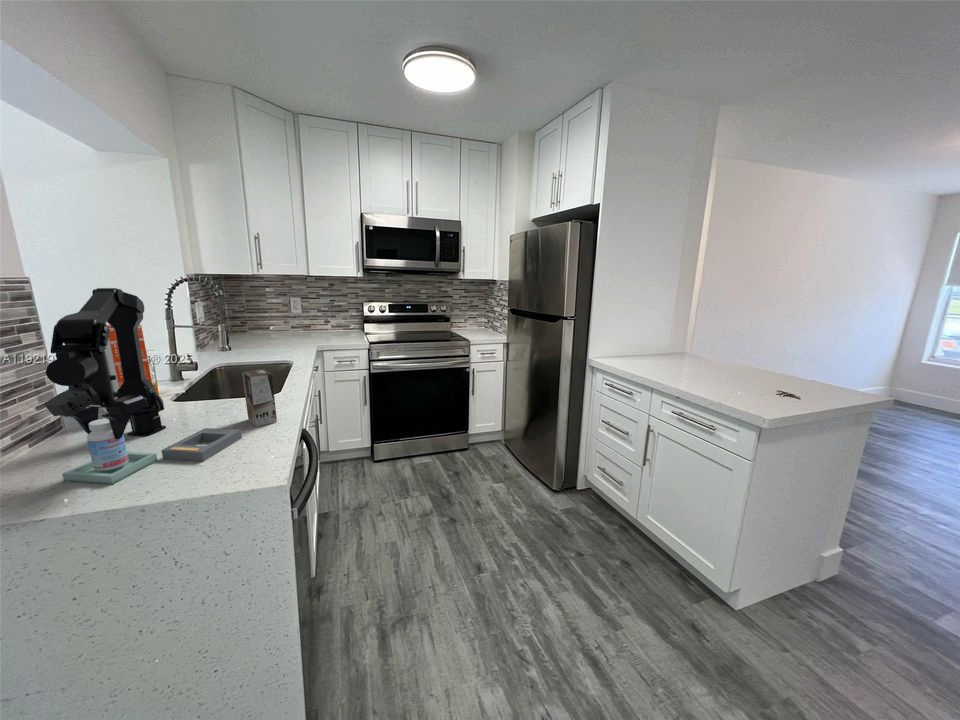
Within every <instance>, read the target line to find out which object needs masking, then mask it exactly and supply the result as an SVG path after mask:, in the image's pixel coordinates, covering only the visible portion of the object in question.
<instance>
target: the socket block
mask: <svg viewBox="0 0 960 720" xmlns="http://www.w3.org/2000/svg"><path fill="white" fill-rule="evenodd" d="M242 438H243V434H242V429H231V428H230V429H226V428H213V427H212V428H209V427H207V428H206V427H204V428H202V429H200V430H198V431H196V432H195V433H192V434H190V435H188V436H187V437H185V438H182V439H181V440H179V441H177V442H175V443H173V444H171V445H168V446H167V447H165V448H163V449H161V456H162V460H172V461H189V462H190V461H193V462H205V461H207V460H208V459H210V458H212V457H213V456H215V455H217V454H218V453H220V452H221V451H223V450H225V449H227V448H228V447H229V446H231V445H233V444H234V443H236V442H238V441H240V440H241V439H242ZM202 442H209V444H207V445H206V446H205V445H198V444H201V443H202Z"/></svg>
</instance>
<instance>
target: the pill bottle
mask: <svg viewBox="0 0 960 720" xmlns="http://www.w3.org/2000/svg"><path fill="white" fill-rule="evenodd" d="M89 429H90V430H91V431H92V432H90V433H89V434H87V436H86V439H87V445H88V449H89V453H90V458H91V460H92V463H93V467H94V469H95V470H99V471H106V470H112V469H115V468H118V467H121V466H123V465H125V464H126V463H127V462H128V460H129V459H128V454H127V452H128V451H127V444H126V441H125V435H124V434H123V436H122V438H120V439H115V436H114V434H113V431H112V428H111V425H110V422H109V420H108V419H106V418H104V417H103V418H98V420H95V421H92V422H90V423H89Z"/></svg>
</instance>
